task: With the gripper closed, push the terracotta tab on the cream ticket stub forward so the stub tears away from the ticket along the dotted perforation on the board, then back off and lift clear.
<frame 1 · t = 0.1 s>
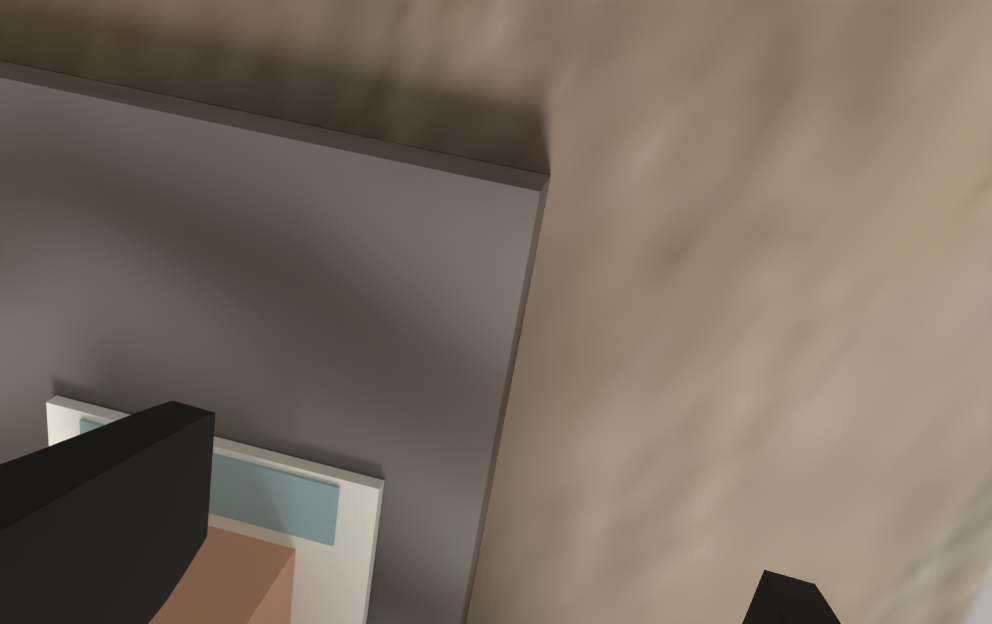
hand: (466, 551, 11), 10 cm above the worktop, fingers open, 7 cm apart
stub: (174, 578, 21), point 3 cm above the worktop, slide at 0.0 cm
ticket board: (240, 498, 24), on the worktop
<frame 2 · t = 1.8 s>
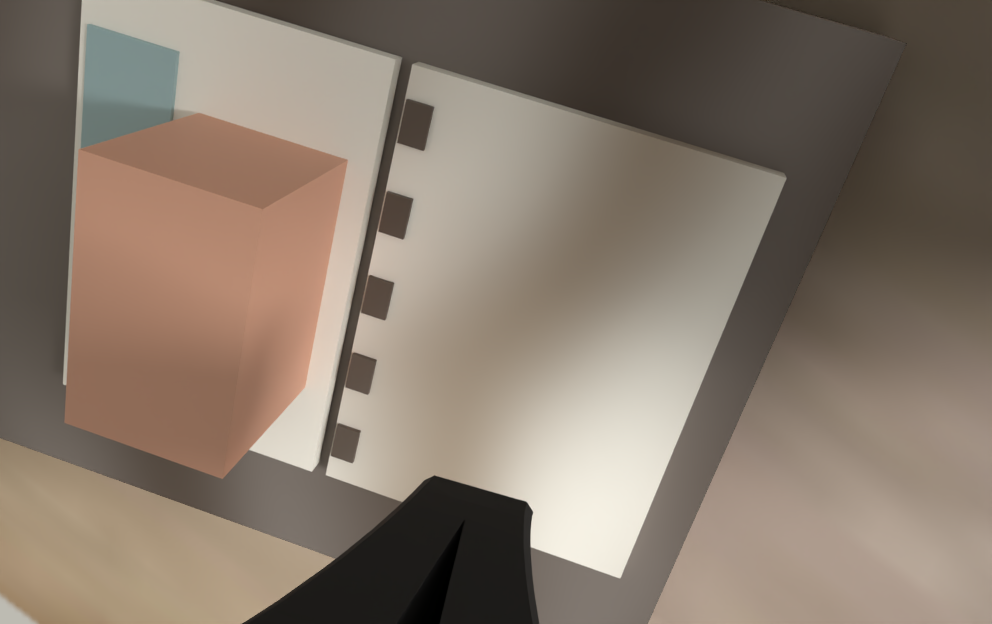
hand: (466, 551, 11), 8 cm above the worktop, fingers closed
stub: (165, 267, 16), point 4 cm above the worktop, slide at 0.0 cm
ticket board: (253, 215, 19), on the worktop
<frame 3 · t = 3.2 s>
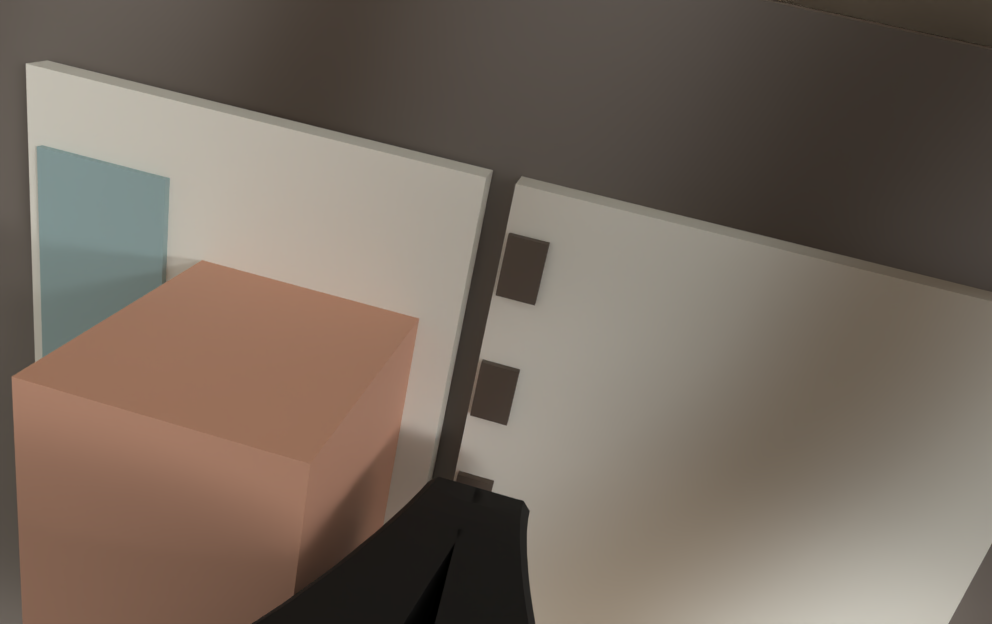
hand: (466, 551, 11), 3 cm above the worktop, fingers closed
stub: (165, 490, 11), point 3 cm above the worktop, slide at 0.1 cm, touching gripper
ticket board: (286, 371, 14), on the worktop
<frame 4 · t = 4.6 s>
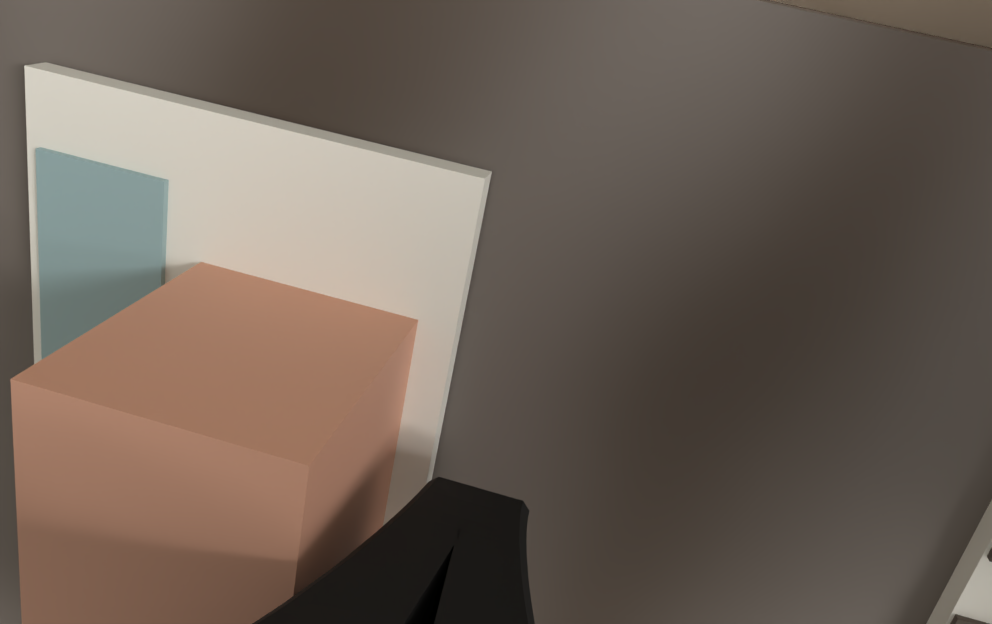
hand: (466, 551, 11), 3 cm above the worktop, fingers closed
stub: (164, 492, 11), point 3 cm above the worktop, slide at 6.7 cm, touching gripper
ticket board: (688, 485, 13), on the worktop
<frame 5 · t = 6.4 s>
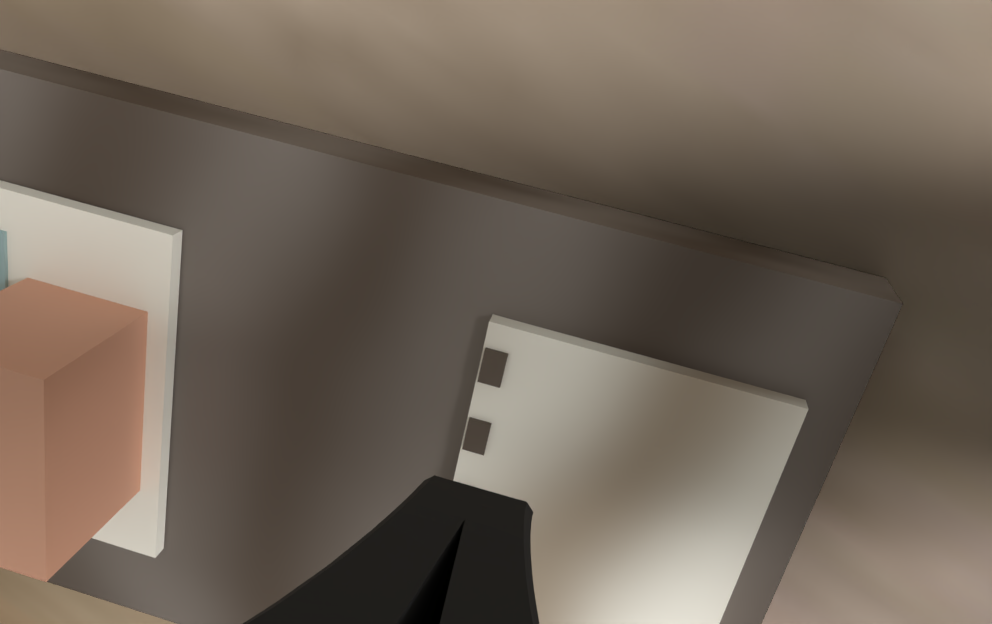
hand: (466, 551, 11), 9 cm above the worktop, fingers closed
stub: (2, 407, 19), point 4 cm above the worktop, slide at 6.8 cm
ticket board: (343, 416, 22), on the worktop
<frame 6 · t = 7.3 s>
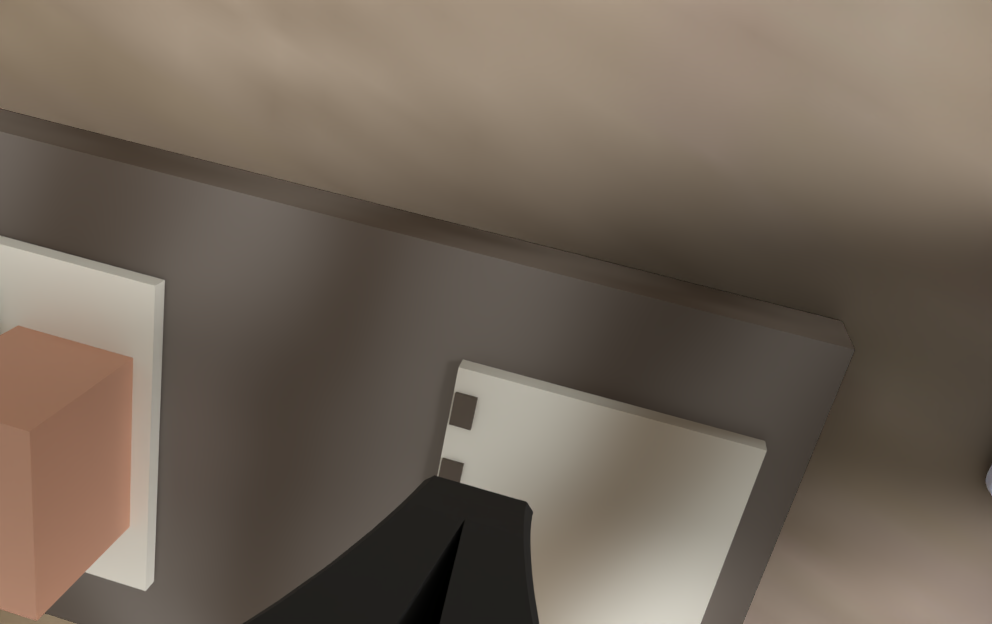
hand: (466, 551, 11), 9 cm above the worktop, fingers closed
ticket board: (325, 452, 22), on the worktop
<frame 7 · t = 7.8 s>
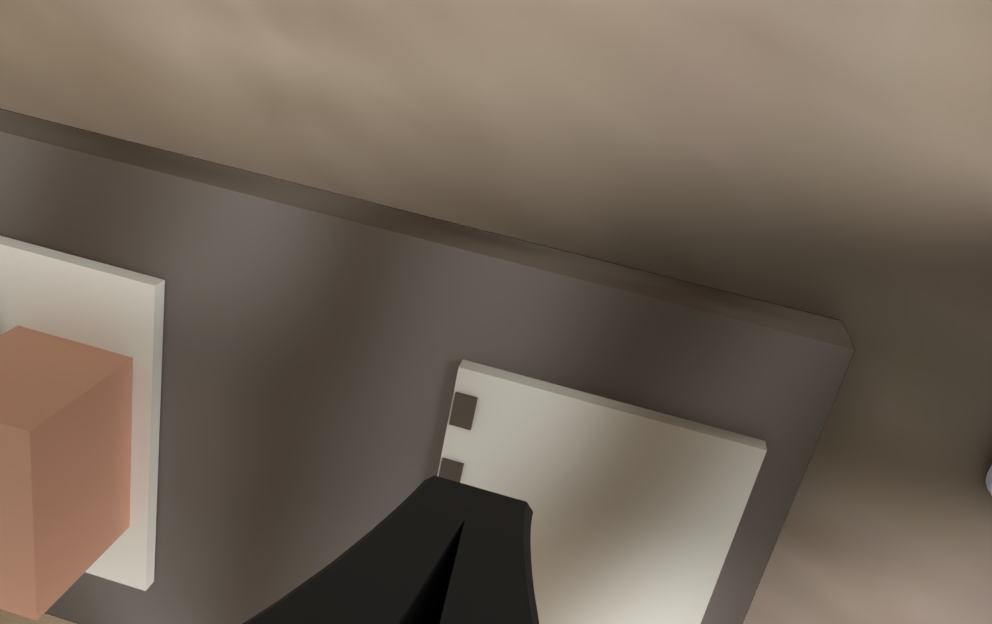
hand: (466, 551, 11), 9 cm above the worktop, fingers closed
ticket board: (325, 452, 22), on the worktop
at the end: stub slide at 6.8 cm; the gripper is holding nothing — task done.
